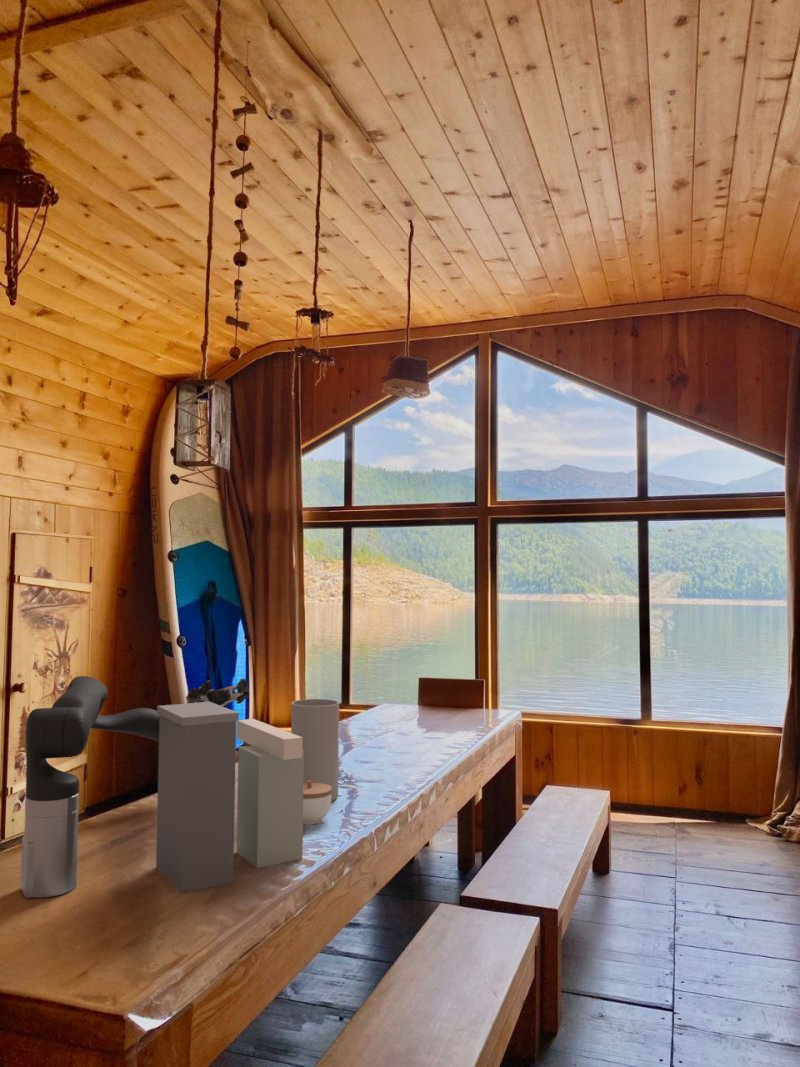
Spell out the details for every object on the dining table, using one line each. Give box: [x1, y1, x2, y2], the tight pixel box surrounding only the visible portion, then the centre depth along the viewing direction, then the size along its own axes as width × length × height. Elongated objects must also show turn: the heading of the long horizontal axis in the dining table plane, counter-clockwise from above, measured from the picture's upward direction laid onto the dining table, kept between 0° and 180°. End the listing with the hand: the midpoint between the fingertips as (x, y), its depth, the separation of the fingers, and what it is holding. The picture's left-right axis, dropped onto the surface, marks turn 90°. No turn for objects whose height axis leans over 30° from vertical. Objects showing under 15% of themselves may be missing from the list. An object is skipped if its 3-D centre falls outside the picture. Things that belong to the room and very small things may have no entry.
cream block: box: [236, 718, 303, 760], centre depth 173 cm, size 4×25×4 cm, turn 33°
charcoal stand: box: [155, 702, 240, 894], centre depth 160 cm, size 11×16×32 cm
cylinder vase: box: [290, 698, 340, 802], centre depth 215 cm, size 12×12×25 cm
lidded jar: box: [303, 781, 332, 825], centre depth 195 cm, size 11×11×9 cm
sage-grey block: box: [236, 744, 304, 868], centre depth 171 cm, size 10×11×22 cm
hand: (227, 683), depth 192 cm, fingers open, 8 cm apart
